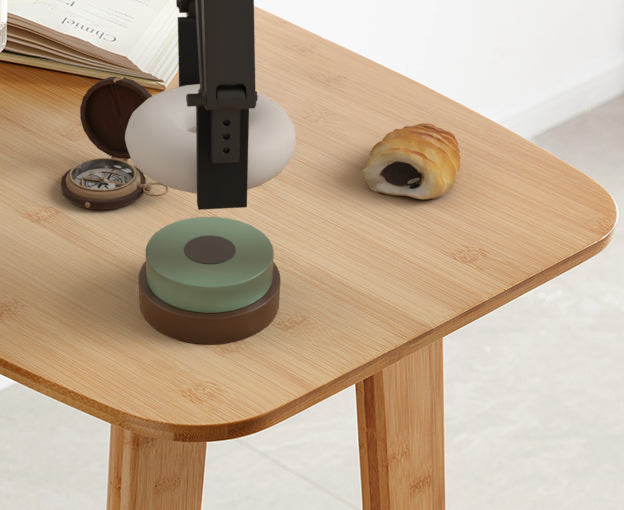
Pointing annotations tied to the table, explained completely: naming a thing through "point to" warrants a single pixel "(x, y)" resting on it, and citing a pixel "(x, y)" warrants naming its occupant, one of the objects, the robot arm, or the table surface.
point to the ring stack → (209, 281)
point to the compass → (108, 148)
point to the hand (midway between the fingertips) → (211, 158)
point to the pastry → (414, 162)
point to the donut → (182, 139)
